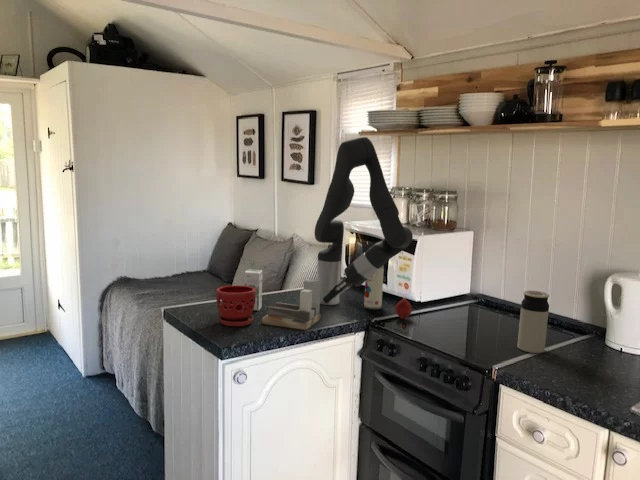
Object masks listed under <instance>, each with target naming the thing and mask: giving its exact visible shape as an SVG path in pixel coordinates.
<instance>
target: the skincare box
mask: <svg viewBox="0 0 640 480" xmlns="http://www.w3.org/2000/svg"><path fill="white" fill-rule="evenodd" d="M303 289H307V290H312V307H316V313H319V314H320V311H321V310H320V308H321V307H320V306H321V304H320V280H317V279H314V278H313V279H308V278H307V279H306V278H305V279H303Z"/></svg>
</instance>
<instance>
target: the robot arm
mask: <svg viewBox="0 0 640 480" xmlns="http://www.w3.org/2000/svg"><path fill="white" fill-rule="evenodd" d="M336 153H337V155H336V158H335V159H336V160H335V165H334V171H333V175H332V178H331V181H330V184H329V187H328V188H327V189H328V190H327V193H326V196H325V199H324V200H325V201H324V204H323V207H322V210H321V212H320V215H319V216H318V219H317V221H316V224H315V227H314V238H315V240H316V241H317V242H319V243H322V244H324V243H325V244H331V245H330V246H329V247H328V248H327V247H326V248H325V249H324V250H323V249H322V250H320V251H319V252H318V253H317V265H316V266H317V268H316V269H317V271H316V272H317V273H316V280H320V305H324V306H334V305H338V304H339V303H340V295H341V294H343V293H344V292H346V291H347V290H349V289H350V288H351V287H352V286H353V285H354V286H355V287H361V286H362V285H363V284H365V281H366V280H367V279H369V278H370V277H371V276H372V275H373V274H374V273H375V272H376V271H377V270H378V269H379V268H380V267H382V266H383V265H385V264H387V262H389V261H390V260H391V259H392V258H394V257H395V256H396V255H399V254H401V252H402V251H404V250H405V249H407V248H408V247H409V246H410V245H411V243H412V241H413V232H412V230H411V229H410V228H409V227H406V226H404V225H403V224H402V221H401V219H400V217H399V215H400V212H399V208H398V207H397V205H396V202H395V200H394V198H393V197H392V195H391V192H390V190H389V188H388V185H387V183H386V179H385V176H384V172H383V169H382V167H381V163H380V160H379V157H378V154H377V151H376V148H375V145H374V144H373V142H372V140H371V139H370V138H368V137H366V136H360V137H356V138H355V137H354V138H352V139H347V140H344V141H343V142H341V144H339V147H338V149H337V152H336ZM363 166H365V167H366V169H367V171H368V173H369V179H370V181H369V194H368V195H369V202H370V206H371V207H372V209H373V211H374V213H375V215H376V217H377V219H378V221H379V225H380V227H381V228H380V229H381V233H382V236H383V238H384V239H383V240H381V241H378V242H376V243H374V244H373V245H372V246H370V247H369V248H368V249H367V250H365V252H363V253H362V254H360V255H359V256H357V258H355V259H354V260H353V261H352V262H351V263H350V264H349V265H348V266H346V267H345V268H344V270H343V271H344V275H345V276H343V277H342V278H341V269H342V268H341V267H342V254H343V241H344V231H345V228H344V222H343V221H342V220H341V219H338V218H337V217H339V216H340V215H342V214H343V213H345V212H346V211H347V210H348V208H349V207H350V206H351V203H352V201H353V199H354V194H355V187H354V184H353V182H352V180H351V179H350V175H351V172H352V171H353V169H355V168H358V167H363ZM336 218H337V219H336Z"/></svg>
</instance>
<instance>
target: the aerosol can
mask: <svg viewBox="0 0 640 480" xmlns="http://www.w3.org/2000/svg"><path fill="white" fill-rule="evenodd" d="M384 265H385V264H384ZM384 265H383V266H382V267H380V268H379V269H378V270H377V271H376V272H375V273H374V274H373V275H372V276H371V277H370V278H369V279H367V280H366V281H365V282H364V299H363V300H364V301H363V308H365V309H368V310H380V309H382V305H383V304H382V302H383V288H384V286H383V285H384V270H385V267H384Z"/></svg>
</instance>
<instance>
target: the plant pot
mask: <svg viewBox="0 0 640 480" xmlns="http://www.w3.org/2000/svg"><path fill="white" fill-rule="evenodd" d="M215 291H216V293H215V295H216V296H215V297H216V306H217V309H218V313H219V315H220V316H219V317H218V321H219V323H221V324H222V325H224V326H228V327H246V326H247V325H250V324H251V323H252V322H253V321H254V316H253V315H252V314H253V312H254V311H253V310H254V306H255V298H256V290H255V288H253V287H249V286H244V285H226V286H221V287H218V288H217V289H216V290H215ZM221 302H222V303H221Z"/></svg>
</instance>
